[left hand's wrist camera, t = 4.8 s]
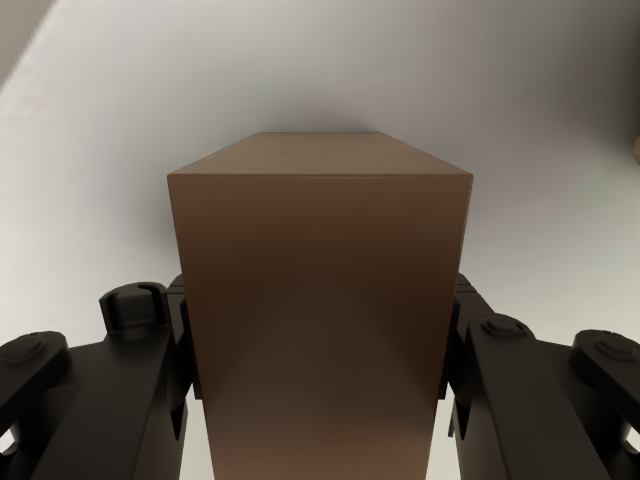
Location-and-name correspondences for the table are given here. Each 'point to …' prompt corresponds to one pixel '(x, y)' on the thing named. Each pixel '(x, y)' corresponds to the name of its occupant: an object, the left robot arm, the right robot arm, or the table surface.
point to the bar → (320, 301)
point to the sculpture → (637, 149)
